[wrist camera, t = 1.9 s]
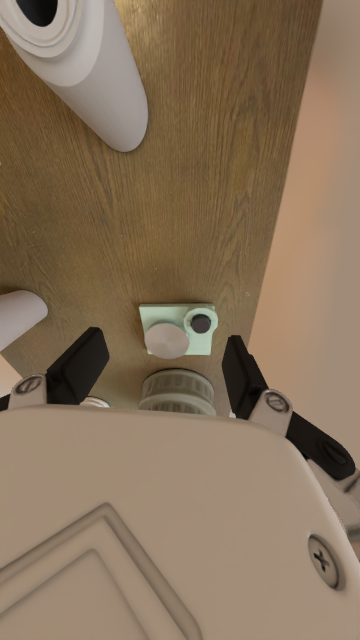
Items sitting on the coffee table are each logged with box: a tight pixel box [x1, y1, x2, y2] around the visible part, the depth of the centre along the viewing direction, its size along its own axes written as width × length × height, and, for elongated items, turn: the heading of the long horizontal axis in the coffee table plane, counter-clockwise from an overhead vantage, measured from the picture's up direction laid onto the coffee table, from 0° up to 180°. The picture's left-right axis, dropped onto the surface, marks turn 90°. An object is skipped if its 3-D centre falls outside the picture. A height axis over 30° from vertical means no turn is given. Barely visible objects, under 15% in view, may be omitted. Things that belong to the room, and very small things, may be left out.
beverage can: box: [0, 0, 148, 152], centre depth 12 cm, size 6×6×12 cm
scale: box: [139, 303, 218, 355], centre depth 31 cm, size 14×12×3 cm
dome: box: [137, 369, 216, 416], centre depth 33 cm, size 20×25×20 cm
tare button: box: [192, 315, 210, 334], centre depth 27 cm, size 3×3×2 cm
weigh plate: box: [145, 323, 190, 359], centre depth 30 cm, size 9×9×1 cm
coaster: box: [80, 397, 110, 408], centre depth 49 cm, size 10×10×4 cm
